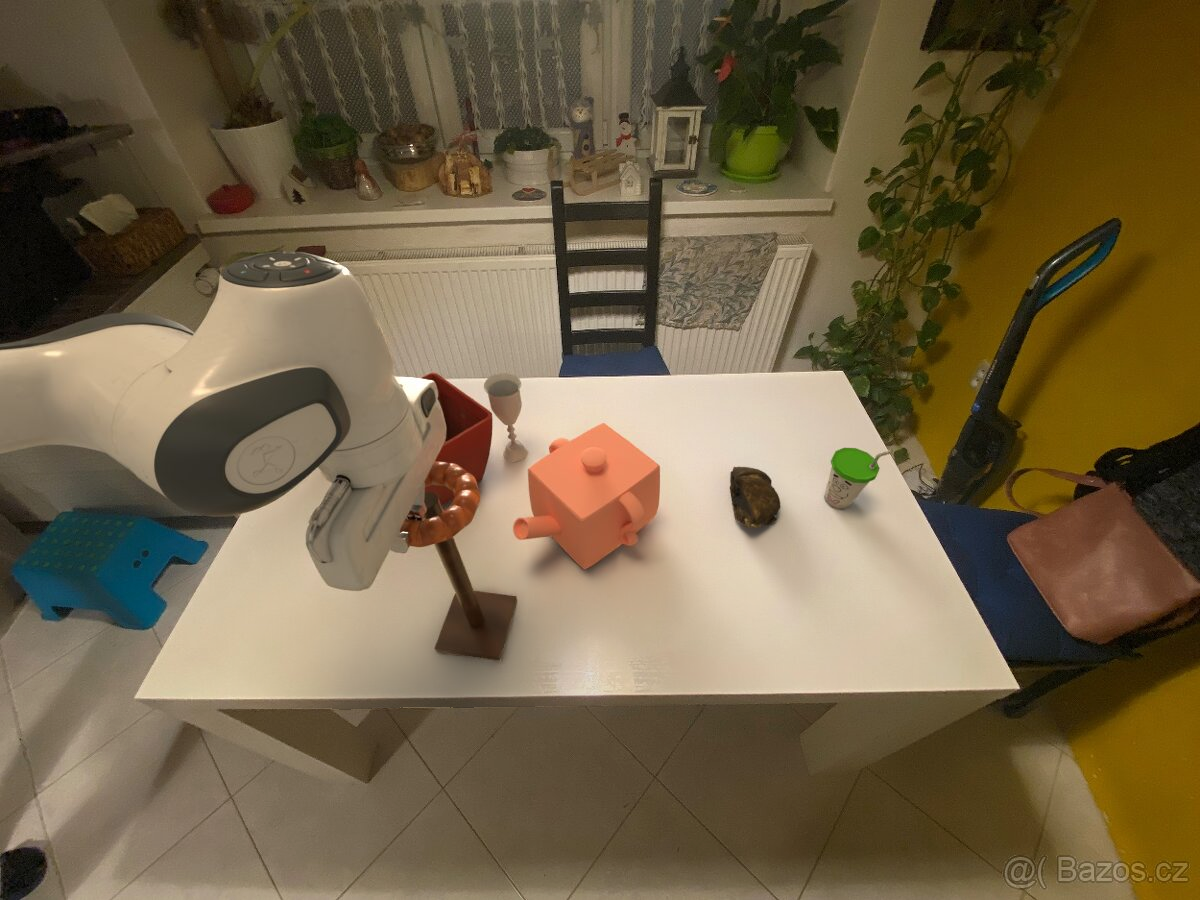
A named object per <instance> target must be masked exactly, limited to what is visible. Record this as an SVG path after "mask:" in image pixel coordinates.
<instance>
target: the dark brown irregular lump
mask: <svg viewBox="0 0 1200 900" xmlns="http://www.w3.org/2000/svg"><path fill="white" fill-rule="evenodd" d="M729 482H730V485H729V490H730V498H731V503H732V508H733V514H734V518H735V520H736V521H737V522H738V523H740V524H741V525H742V526H743V527H744V526H745V527H748V529H751V528H754V529H757V528H760V527H763V526H769V525H772V524H777V519H778V518H777V515H778V514H779V512H780V509H781V500H780V497H779V494H778V492H777V491H776V489H775V487H774V486H773V485H772V479H771V477H770V476H769V475H768V474H767V473H766V472H764V471H762V470H760V468H759V469H758V468H754V467H749V466H733V468H732V470H731V471H730V480H729Z"/></svg>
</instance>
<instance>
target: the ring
mask: <svg viewBox="0 0 1200 900" xmlns="http://www.w3.org/2000/svg"><path fill="white" fill-rule="evenodd" d="M424 482H425V487H426V486H429V485H441V486H447V487H448V488H449V489H451V490H452V491H453V493H454V499H452V501H451V504H450V506H449V507H447V508H446V509H444V510H443V511H444V512H442V513H441V514H440V515H438V516H436V517H432V518H429V519H425V520H423V519H422V521H420V520H411V519H407V518H406V519H405V521H404V523H403V525H402V527H401V529H400V532H408V533H409V535H410V539H412V542H411V544H410V546H409V547H412V548H413V547H414V548H426V547H430V546H434V544H436V543H440V542H443V541H446V540H449V539H451V538H452V537H453V538H454V537H455V536H456V535H458V534H459V533H460V532H461V531H463V530H464V529H465V528H466V527H468V526H469V525H470V524H471V523H472V521H473V519H474V518H475V515H476V513H477V511H478V508H479V505H480V503H481V499H482V497H481V493H480V489H479V486H478V483H477V482H476V479H475V477H474V476H473V475H472V474H470V473H469V472H467V471H466V470H464V469H463V468H462V467H460V466H459V465H457V464H454V463H447V462H437V461H435V462H434V464H433V466H432V468H431V470H430V472H429V474H428V476H427V478H426V479H425V481H424Z"/></svg>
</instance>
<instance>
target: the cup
mask: <svg viewBox="0 0 1200 900" xmlns="http://www.w3.org/2000/svg"><path fill="white" fill-rule="evenodd" d="M891 454H893V450H892V449H890V450H885V451H883V452H880V453H877V454H876V455H875V457H873V456H872V455H871V454H870V453H869V452H867V451H864V450H862V449H859V448H857V447H842V448H840V449H838V450H835V451H834V453H833V455H832V457H831V459H830V465H831V467H830V472H829V476H828V479H827V483H826V487H825V492H824V496H823V498H824V501H825V503H826V504H827V505H828V506H829V507H831V508H834V509H835V510H845V509H847V508H849V506H851V504H852V503H853V502H854V500H856V498H857V497H858V496H859V495H860V494H861V493H862V491H864V489H865V488H866V486H868V485H869V483H870V482H872V481H875V480H876V478H877V476H878V474H879V472H880V466H879V463H878V460H879V459H880V458H881V457H884V456H887V455H891Z"/></svg>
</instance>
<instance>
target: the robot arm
mask: <svg viewBox="0 0 1200 900" xmlns="http://www.w3.org/2000/svg"><path fill="white" fill-rule="evenodd" d="M208 309H209V310H208V311H207V313H206V315H205V317H204V318H203V320H202V322H201V323H200V325H199V326H198V328H196V330H195V331H193V330H191V329H190V328H188V327H187V326H185V325H183V324H181V323H179V322H177V321H175V320H172V319H169V318H167V317H163V316H160V315H155V314H151V313H142V312H114V313H107V314H102V315H98V316H95V317H90V318H86V319H83V320H80V321H77V322H75V323H72V324H69V325H66V326H63V327H60V328H58V329H56V330H53V331H52V330H51V331H50V332H47V333H44V334H39V335H37V336H34V337H30V338H26V339H21V340H16V341H12V342H4V343H0V455H2V454H6V453H11V452H16V451H20V450H25V449H29V448H35V447H40V446H41V447H42V446H72V447H78V448H84V449H88V450H93V451H97V452H101V453H103V454H107V455H108V456H109V457H110V458H112V459H113V460H114V461H116V462H117V463H119V464H120V465H121V466H123V467H125V468H126V469H127V470H128V471H129V472H130V473H131V474H134V475H135V477H136V478H137V479H138V480H140V481H141V482H143V483H144V484H145V485H147V486H148V487H149V488H151V489H153V490H154V491H156V492H157V493H158V494H160V495H162V496H163V497H165V498H166V499H168V500H169V501H170V502H171V503H172V504H174V505H175V506H177V508H180V509H182V510H184V511H186V512H189V513H191V514H196V515H200V516H204V517H205V516H206V517H231V516H237V515H242V514H247V513H250V512H253V511H256V510H258V509H259V510H260V509H261V508H264V507H266V506H268V505H270V504H272V503H274V502H276V501H277V500H280V498H282V497H284V496H285V495H286V494H287V493H289V492H291V490H293V489H294V488H295V487H296V486H298V485H300V484H301V483H302V482H303V481H304V480H305V479H306V478H308V477H309V476H310V475H311V474H312V473H313V472H314V471H316V470H317V469H318V470H319V472H320V474H321V475H322V477H324V479H325V480H327V481H328V482H330V483H331V485H330V486H329V488H328V490H326V493H325V495H324V497H323V499H322V501H321V503H320V504H319V506H317V507H316V508H315V509H314V511H313V512H312V514H311V515H310V518H309V519H308V524H307V527H306V531H305V547H306V549H307V551H308V553H309V555H310V558H311V561H312V562H313V564H314V567H315V568H316V570H317V572H318V574H319V575H320V577H321V578H322V580H323V583H325V584H326V585H327V586H328V587H330V588H333V589H337V590H341V591H350V592H361V591H364V590H369V588H371V587H372V586H373V584H374V582H375V580H376V578H377V576H378V574H379V572H380V570H381V568H382V566H383V564H384V562H385V561H386V558H387V556H388V554H389V553H390V551H391V552H393V553H397V554H407V553H408V550H409V549H410V547H411V546H410V544H411V542H412V539H410V535H409V533H408V532H400V529H401V527H402V525H403V523H404V521H405V519H411V520H420V521H422V520H423V517H424V515H425V513H426V511H427V508H426V505H425V503H424V496H425V482H424V481H425V479H426V478H427V476H428V474H429V472H430V470H431V468H432V466H433V464H434V462H435V460H436V458H437V456H438V454H439V452H440V450H441V448H442V446H443V444H444V442H445V439H446V423H445V419H444V415H443V412H442V408H441V405H440V403H439V401H438V399H437V398H438V390H437V386H436V383H435V382H434V381H432V380H427V379H420V378H421V377H411V376H401V375H395V374H394V358H393V354H392V351H391V348H390V345H389V343H388V341H387V338H386V336H385V333H384V330H383V328H382V326H381V323H380V321H379V318H378V317H377V314H376V312H375V310H374V308H373V306H372V303H371V302H370V299H368V296H367V294H366V293H365V291H364V289H363V287H362V286H361V284H360V283H359V281H358V280H357V278H356V277H355V276H354V274H353V273H352V272H351V271H350V270H349V268H347V267H345V266H344V265H342V264H340V263H339V262H336V261H334V260H332V259H329V258H326V257H323V256H320V255H316V254H312V253H307V252H304V251H303V252H302V251H283V250H282V251H272V252H271V251H270V252H264V253H257V254H253V255H248V256H245V257H242V258H239V259H237V260H235V261H234V262H232V263H230V264H228V265H226V266H225V267H224V268H223V269H222V270H221V271H220V274H219V276H218V287H217V292H216V295H215V297H214V300H213V302H212V303H211V305H210V307H209V308H208Z"/></svg>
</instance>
